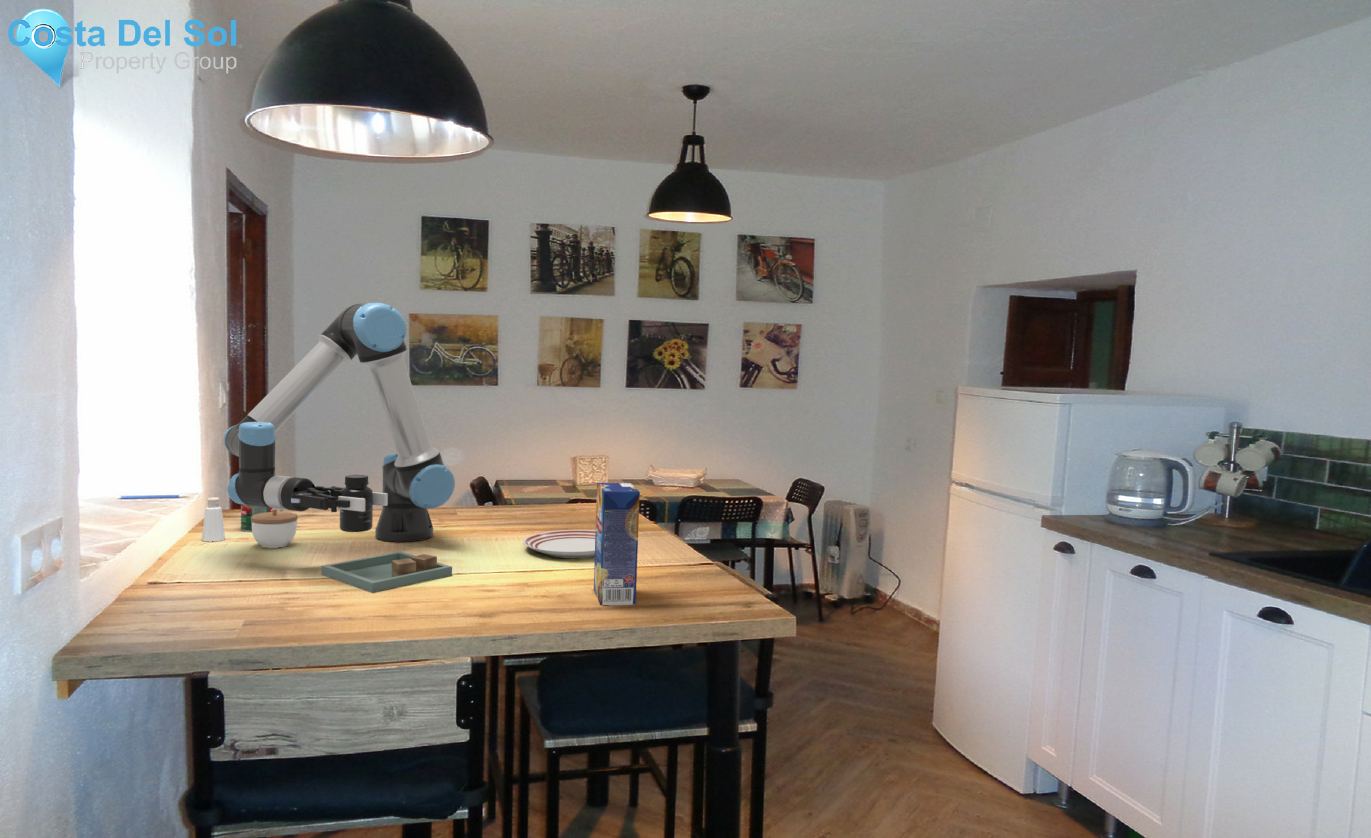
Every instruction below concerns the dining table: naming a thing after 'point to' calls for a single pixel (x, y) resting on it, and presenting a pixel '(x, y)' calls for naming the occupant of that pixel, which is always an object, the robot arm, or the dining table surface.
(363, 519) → the supplement bottle
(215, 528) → the pepper shaker
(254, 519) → the lidded jar
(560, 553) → the dinner plate
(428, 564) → the walnut block
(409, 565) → the walnut block
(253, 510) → the canned tomato
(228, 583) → the dining table surface
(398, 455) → the robot arm
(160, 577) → the dining table surface
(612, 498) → the juice carton
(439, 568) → the tray
